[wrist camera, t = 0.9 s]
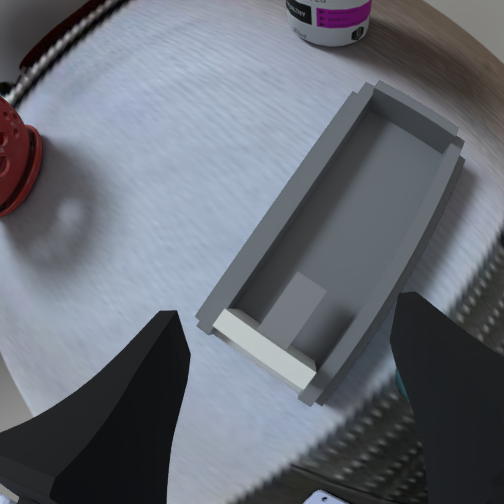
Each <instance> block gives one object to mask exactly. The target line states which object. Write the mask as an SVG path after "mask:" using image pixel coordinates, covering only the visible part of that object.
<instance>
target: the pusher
mask: <svg viewBox="0 0 504 504" xmlns="http://www.w3.org/2000/svg"><path fill="white" fill-rule="evenodd" d="M326 292H327V291H326V290H325V289H323V288H322V287H320V286H319V285H317V284H316V283H314V282H313V281H311V280H310V279H308V278H307V277H305V276H304V275H302V274H301V273H299V272H298V271H297V272H296V274H295V275H294V277H293V278H292V280H291V281H290V283H289V284H288V286H287V287H286V289H285V290H284V291H283V293H282V294H281V296H280V297H279V299H278V300H277V302H276V303H275V304H274V306H273V307H272V309H271V310H270V312H269V313H268V314H267V316H266V317H265V319H264V320H263V322H262V323H261V324H260V323H259V322H257V321H256V320H255V319H253V318H252V317H250V316H249V315H247V314H246V313H245V312H243V311H242V310H241V309H228V308H224V310H223V311H222V313H221V314H220V316H219V317H218V318H217V320H216V321H215V323H214V324H213V326H214V327H215V328H216V329H218V330H219V331H220V332H222V333H223V334H224V335H226V336H227V337H228V338H230V339H231V340H232V341H234V342H235V343H237V344H238V345H239V346H241V347H242V348H243V349H245V350H246V351H248V352H249V353H250V354H252V355H253V356H255V357H256V358H257V359H259V360H260V361H262V362H263V363H265V364H266V365H267V366H269V367H270V368H272V369H273V370H275V371H276V372H278V373H279V374H280V375H282V376H283V377H285V378H286V379H288V380H289V381H291V382H292V383H294V384H295V385H297V386H298V387H300V388H301V389H303V390H304V389H305V387H306V386H307V385H308V383H309V382H310V381H311V380H312V378H313V377H314V376H315V374H316V373H317V372H316V365H315V361H314V360H312V359H311V358H310V357H308V356H307V355H305V354H304V353H302V352H301V351H299V350H298V349H296V348H295V347H293V346H292V345H290V344H291V342H292V341H293V340H294V338H295V337H296V335H297V334H298V333H299V331H300V330H301V328H302V327H303V325H304V324H305V323H306V321H307V320H308V318H309V317H310V315H311V314H312V312H313V311H314V310H315V308H316V307H317V305H318V304H319V302H320V301H321V299H322V298H323V296H324V295H325V293H326Z"/></svg>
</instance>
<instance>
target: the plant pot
mask: <svg viewBox="0 0 504 504" xmlns="http://www.w3.org/2000/svg"><path fill="white" fill-rule="evenodd" d="M41 159H42V141H41V137H40V135H39V133H38V131H37V130H36V129H35V128H34V127H33V126H31V125H24V123H23V121H22V119H21V117H20V116H19V114H18V113H17V112H16V111H15V109H14V108H13V107H12V106H11V105H10V104H9V103H8V102H7V101H6V100H5V99H4V98H2V97H1V96H0V217H2V216H5V215H7V214H9V213H11V212H12V211H14V210H15V209H16V208H17V207H18V206H19V205H20V204H21V203H22V202H23V200H24V199H25V198H26V196H27V195H28V193H29V192H30V190H31V188H32V186H33V184H34V182H35V180H36V178H37V175H38V172H39V169H40V165H41Z"/></svg>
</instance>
